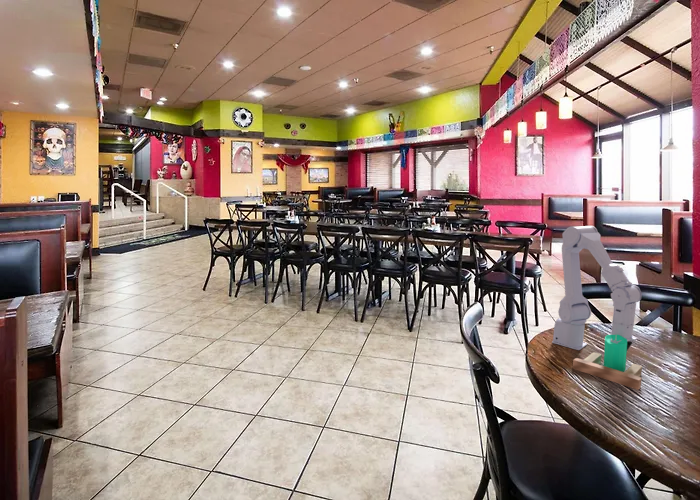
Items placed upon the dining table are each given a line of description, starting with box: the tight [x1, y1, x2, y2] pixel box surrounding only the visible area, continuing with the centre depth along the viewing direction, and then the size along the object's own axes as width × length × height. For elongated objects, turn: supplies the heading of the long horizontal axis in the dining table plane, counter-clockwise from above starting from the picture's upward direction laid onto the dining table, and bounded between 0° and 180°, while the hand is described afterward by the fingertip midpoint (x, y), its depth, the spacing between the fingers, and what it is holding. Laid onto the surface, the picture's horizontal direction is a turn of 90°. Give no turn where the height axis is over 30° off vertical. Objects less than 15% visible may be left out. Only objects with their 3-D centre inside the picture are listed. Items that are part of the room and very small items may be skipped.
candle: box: [603, 334, 628, 372], centre depth 129 cm, size 6×6×12 cm
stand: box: [572, 351, 643, 391], centre depth 129 cm, size 18×11×3 cm, turn 41°
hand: (618, 361), depth 133 cm, fingers closed
